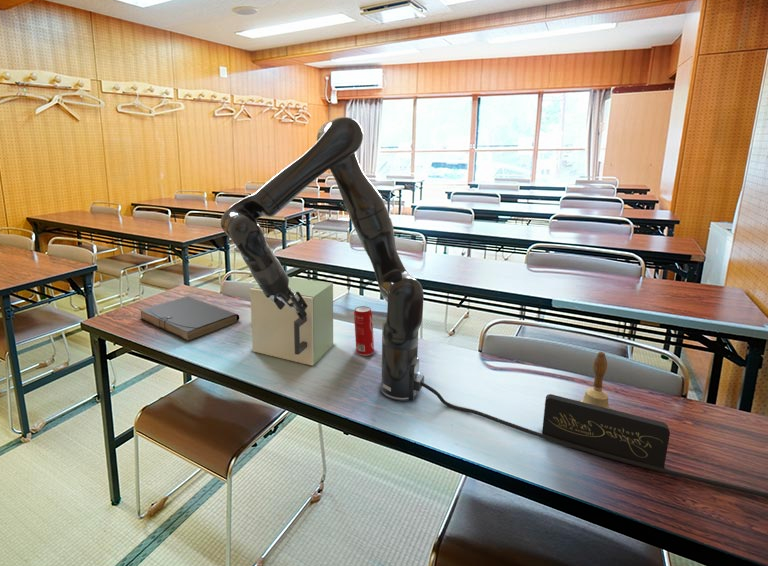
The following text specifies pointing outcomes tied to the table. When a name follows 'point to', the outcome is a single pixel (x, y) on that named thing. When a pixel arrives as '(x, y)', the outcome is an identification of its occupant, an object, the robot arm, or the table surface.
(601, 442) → the nameplate
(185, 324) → the file folder
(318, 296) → the cupboard
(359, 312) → the beverage can
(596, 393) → the hand bell
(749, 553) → the table surface
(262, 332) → the door
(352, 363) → the table surface
